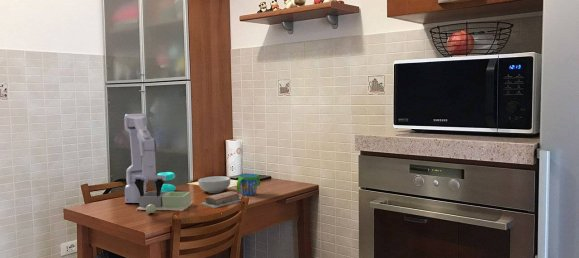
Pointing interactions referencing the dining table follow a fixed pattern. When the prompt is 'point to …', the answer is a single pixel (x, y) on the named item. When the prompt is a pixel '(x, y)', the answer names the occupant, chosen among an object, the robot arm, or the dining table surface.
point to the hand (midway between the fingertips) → (150, 196)
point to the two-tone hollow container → (166, 200)
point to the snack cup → (248, 184)
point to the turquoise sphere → (168, 187)
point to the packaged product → (221, 199)
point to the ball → (150, 208)
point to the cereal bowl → (214, 184)
